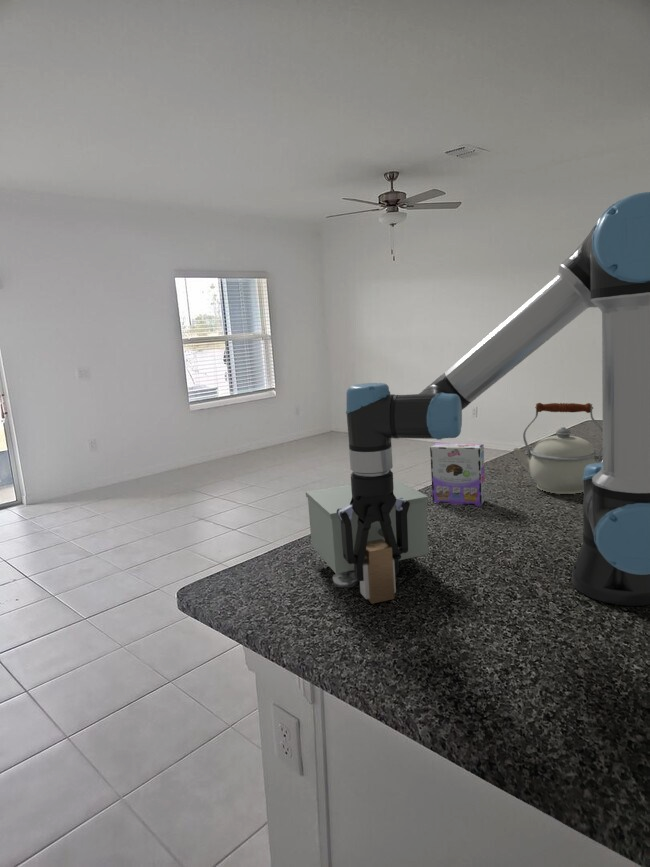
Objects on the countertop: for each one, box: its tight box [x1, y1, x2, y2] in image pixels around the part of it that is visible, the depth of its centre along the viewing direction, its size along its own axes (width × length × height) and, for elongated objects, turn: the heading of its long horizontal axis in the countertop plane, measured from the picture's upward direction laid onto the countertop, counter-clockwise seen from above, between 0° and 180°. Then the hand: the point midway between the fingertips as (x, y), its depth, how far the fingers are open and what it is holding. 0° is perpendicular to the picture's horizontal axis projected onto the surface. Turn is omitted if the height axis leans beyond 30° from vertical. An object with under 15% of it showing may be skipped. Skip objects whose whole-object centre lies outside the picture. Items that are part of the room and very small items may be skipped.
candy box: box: [429, 442, 486, 507], centre depth 154 cm, size 14×6×16 cm, turn 63°
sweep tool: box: [351, 539, 395, 605], centre depth 107 cm, size 15×4×10 cm, turn 17°
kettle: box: [512, 402, 603, 495], centre depth 159 cm, size 25×18×25 cm
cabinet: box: [305, 477, 430, 574], centre depth 115 cm, size 18×21×16 cm
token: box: [332, 571, 359, 589], centre depth 111 cm, size 5×5×1 cm
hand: (378, 592), depth 103 cm, fingers closed on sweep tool, 4 cm apart
